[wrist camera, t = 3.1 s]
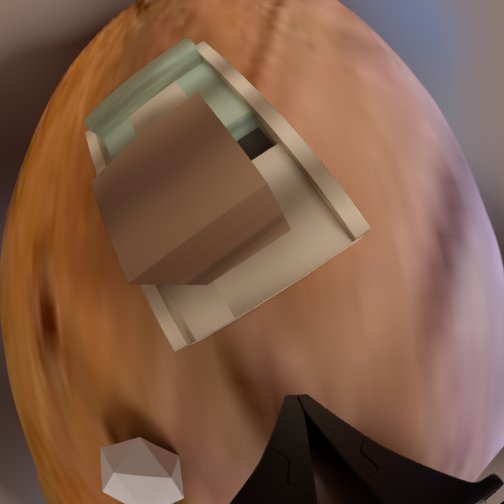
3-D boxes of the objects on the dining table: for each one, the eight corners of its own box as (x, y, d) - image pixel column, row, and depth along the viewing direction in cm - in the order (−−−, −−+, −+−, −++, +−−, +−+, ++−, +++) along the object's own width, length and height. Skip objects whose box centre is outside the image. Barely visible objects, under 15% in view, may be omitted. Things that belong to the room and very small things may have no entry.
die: (148, 409, 24) (70, 441, 17) (197, 461, 18) (103, 507, 11) (166, 451, 26) (102, 480, 19) (211, 496, 20) (138, 534, 13)
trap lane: (360, 239, 20) (375, 222, 14) (200, 340, 22) (163, 356, 17) (217, 67, 25) (197, 31, 20) (109, 148, 27) (76, 127, 22)
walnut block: (291, 229, 19) (267, 183, 10) (207, 285, 20) (128, 284, 11) (245, 164, 20) (197, 92, 11) (171, 218, 21) (90, 181, 12)
